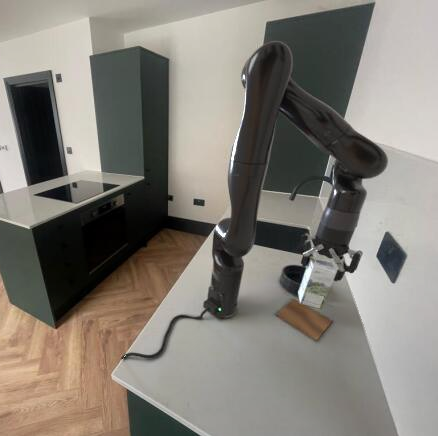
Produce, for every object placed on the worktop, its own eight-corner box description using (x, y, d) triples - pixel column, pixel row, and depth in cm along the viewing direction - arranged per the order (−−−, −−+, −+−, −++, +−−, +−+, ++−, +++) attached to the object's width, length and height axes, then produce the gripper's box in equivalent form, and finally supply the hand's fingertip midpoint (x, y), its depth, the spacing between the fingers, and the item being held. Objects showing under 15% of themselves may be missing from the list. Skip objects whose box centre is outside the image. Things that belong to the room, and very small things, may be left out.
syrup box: (318, 297, 74) (332, 260, 68) (321, 310, 69) (337, 271, 63) (297, 292, 76) (309, 255, 71) (299, 304, 72) (312, 266, 66)
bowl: (310, 305, 81) (314, 293, 79) (272, 284, 91) (275, 273, 89) (326, 289, 88) (330, 277, 86) (289, 271, 98) (292, 260, 96)
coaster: (316, 341, 68) (316, 340, 68) (276, 315, 77) (276, 314, 77) (332, 321, 75) (332, 320, 74) (293, 299, 84) (293, 299, 83)
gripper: (302, 218, 65) (288, 265, 72) (367, 237, 54) (344, 291, 61) (313, 212, 69) (299, 257, 76) (376, 229, 58) (354, 280, 65)
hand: (319, 272), depth 68 cm, fingers closed on syrup box, 7 cm apart
